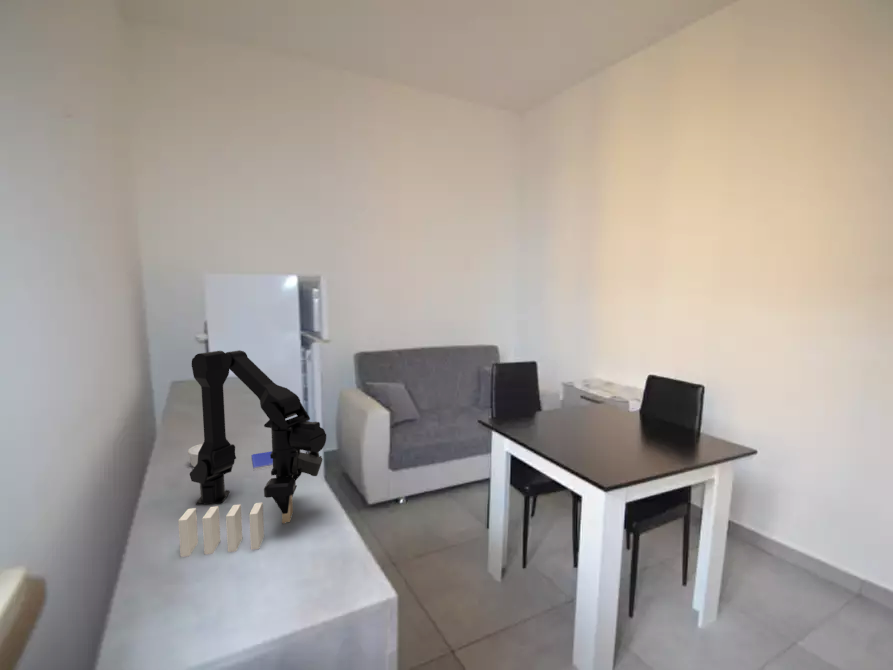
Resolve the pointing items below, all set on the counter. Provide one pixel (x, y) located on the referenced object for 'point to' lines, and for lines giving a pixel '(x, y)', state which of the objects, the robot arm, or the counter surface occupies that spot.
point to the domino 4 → (256, 526)
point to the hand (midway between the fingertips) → (287, 507)
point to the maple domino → (290, 510)
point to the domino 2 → (211, 530)
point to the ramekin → (194, 454)
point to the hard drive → (262, 460)
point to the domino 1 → (188, 532)
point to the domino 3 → (234, 528)
